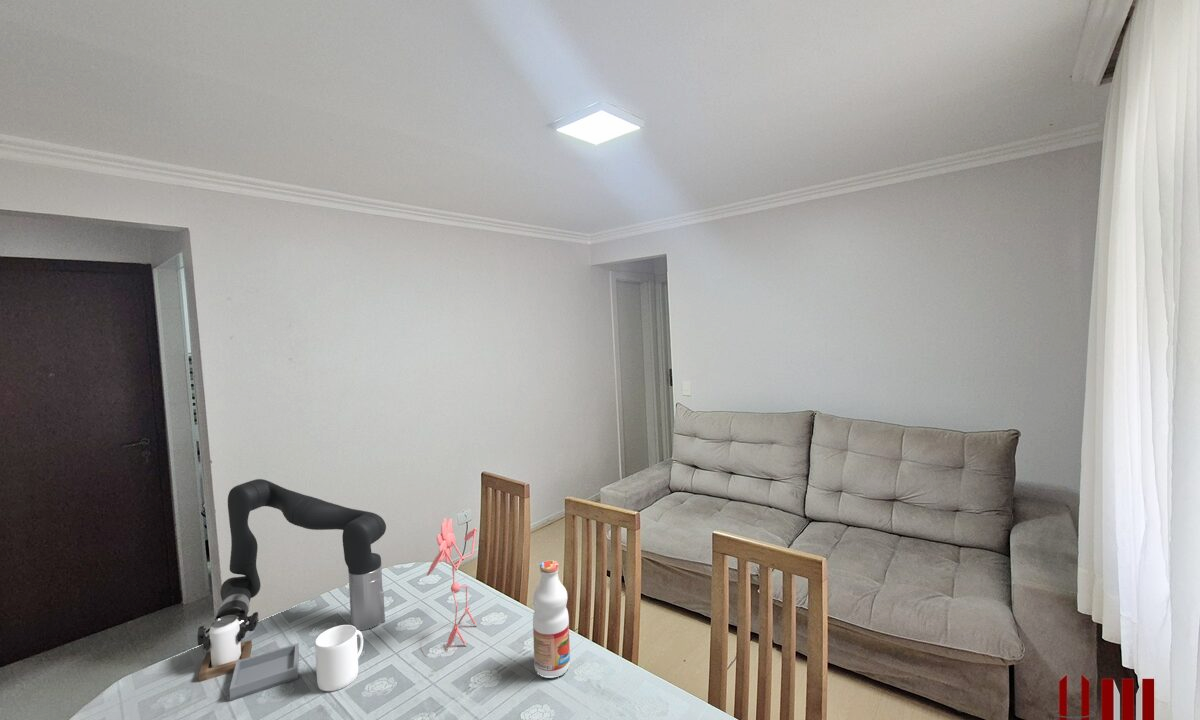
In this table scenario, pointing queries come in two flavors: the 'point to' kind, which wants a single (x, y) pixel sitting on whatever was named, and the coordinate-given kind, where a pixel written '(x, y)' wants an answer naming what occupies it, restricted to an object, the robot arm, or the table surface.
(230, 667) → the walnut collar
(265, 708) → the table surface
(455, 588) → the figurine
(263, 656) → the grey shallow rectangular tray
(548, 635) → the fruit juice
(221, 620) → the can
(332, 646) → the mug
